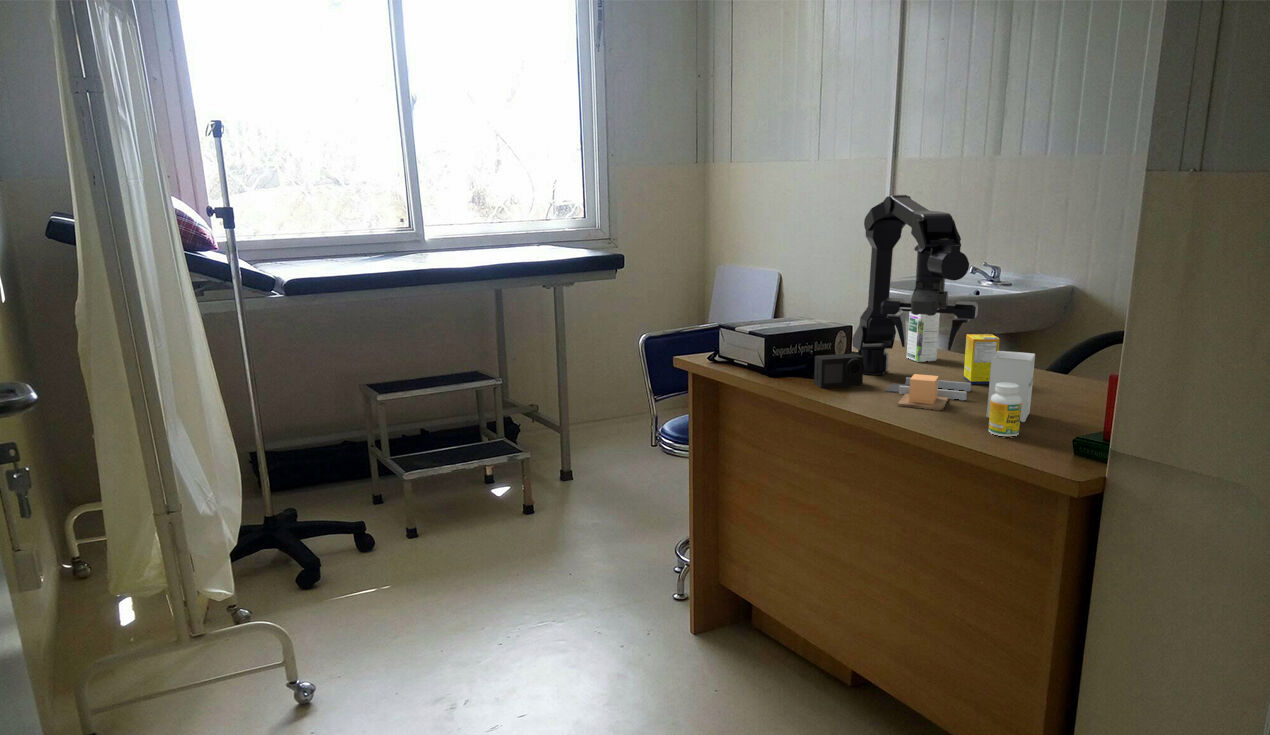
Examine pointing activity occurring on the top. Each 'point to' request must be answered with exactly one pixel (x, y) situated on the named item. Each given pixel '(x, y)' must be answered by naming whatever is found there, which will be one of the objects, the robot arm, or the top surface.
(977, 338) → the supplement box
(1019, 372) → the supplement box
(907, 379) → the channel
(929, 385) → the block
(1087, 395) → the top surface
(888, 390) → the mat
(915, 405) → the coaster
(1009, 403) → the supplement bottle
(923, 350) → the syrup box
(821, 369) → the digital camera
